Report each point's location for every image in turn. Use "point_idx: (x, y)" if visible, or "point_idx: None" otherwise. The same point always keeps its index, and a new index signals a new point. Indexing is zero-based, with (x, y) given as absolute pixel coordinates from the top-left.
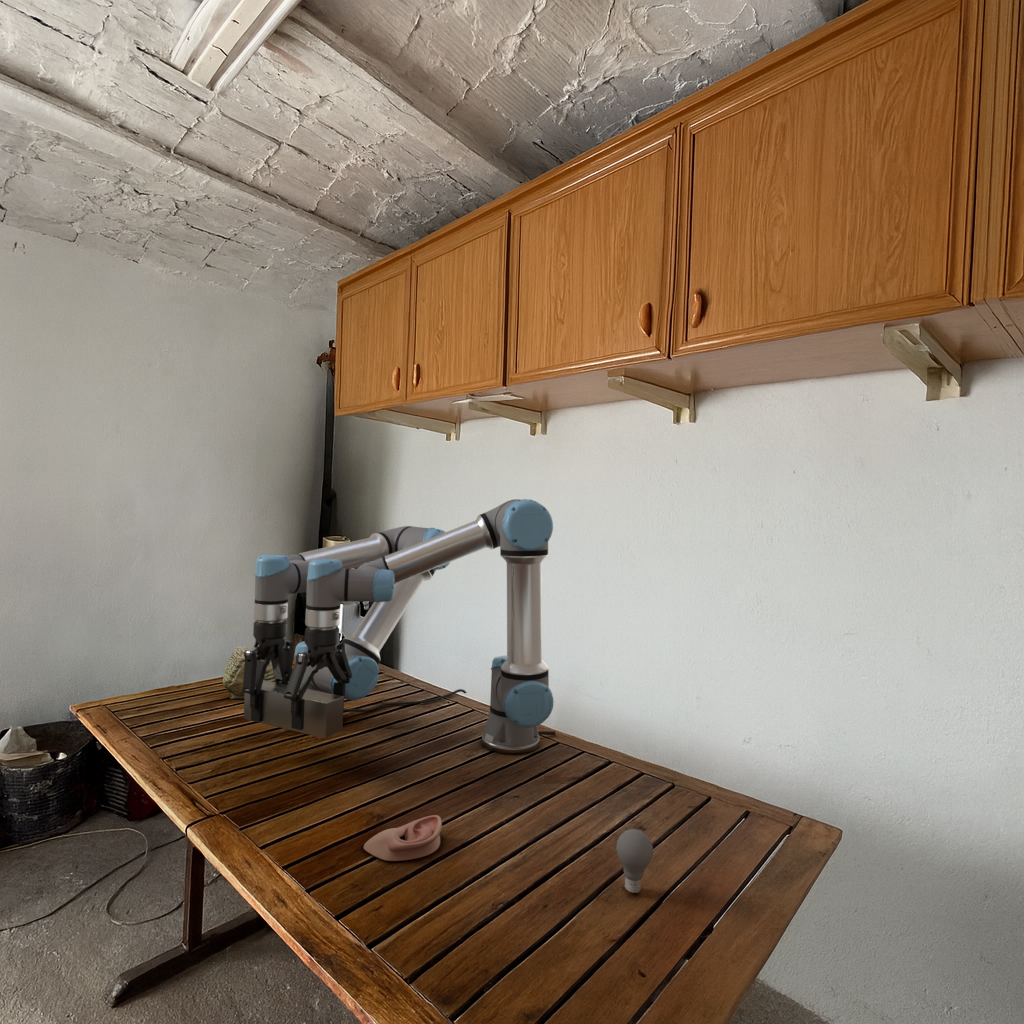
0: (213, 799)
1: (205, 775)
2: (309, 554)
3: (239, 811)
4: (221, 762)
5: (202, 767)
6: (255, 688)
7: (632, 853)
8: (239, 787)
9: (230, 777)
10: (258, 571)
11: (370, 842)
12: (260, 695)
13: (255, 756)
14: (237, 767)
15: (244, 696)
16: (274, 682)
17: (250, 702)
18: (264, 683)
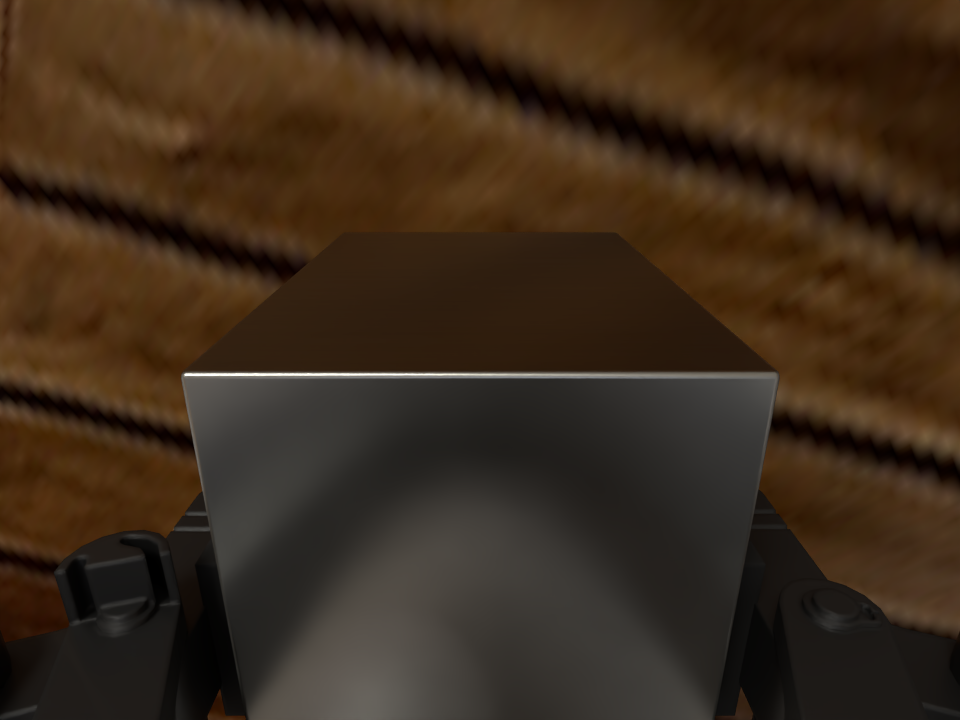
0: (5, 434)
1: (120, 172)
2: None
3: (31, 593)
4: (296, 96)
5: (172, 49)
6: (232, 633)
7: None
8: (159, 441)
9: (199, 318)
10: None
11: None
12: (232, 700)
13: (480, 217)
14: (306, 249)
15: (264, 301)
16: (712, 655)
17: (181, 530)
18: (559, 567)
